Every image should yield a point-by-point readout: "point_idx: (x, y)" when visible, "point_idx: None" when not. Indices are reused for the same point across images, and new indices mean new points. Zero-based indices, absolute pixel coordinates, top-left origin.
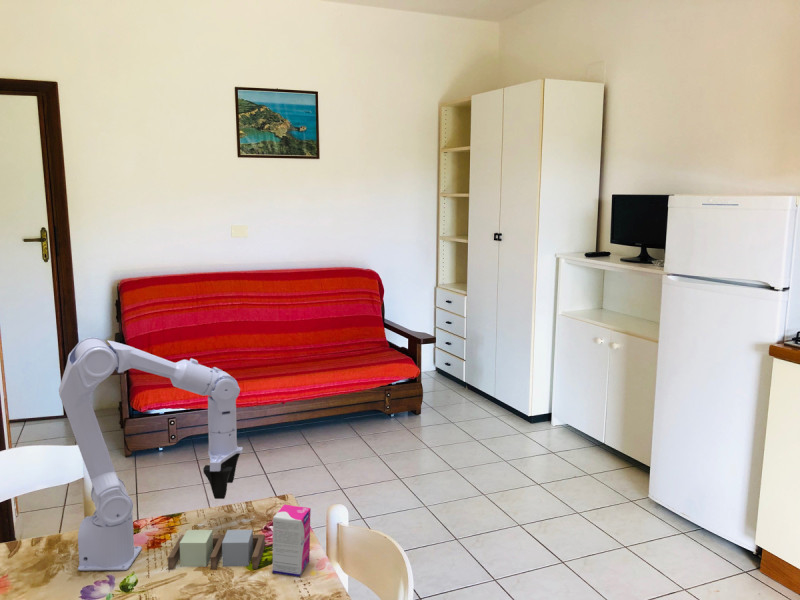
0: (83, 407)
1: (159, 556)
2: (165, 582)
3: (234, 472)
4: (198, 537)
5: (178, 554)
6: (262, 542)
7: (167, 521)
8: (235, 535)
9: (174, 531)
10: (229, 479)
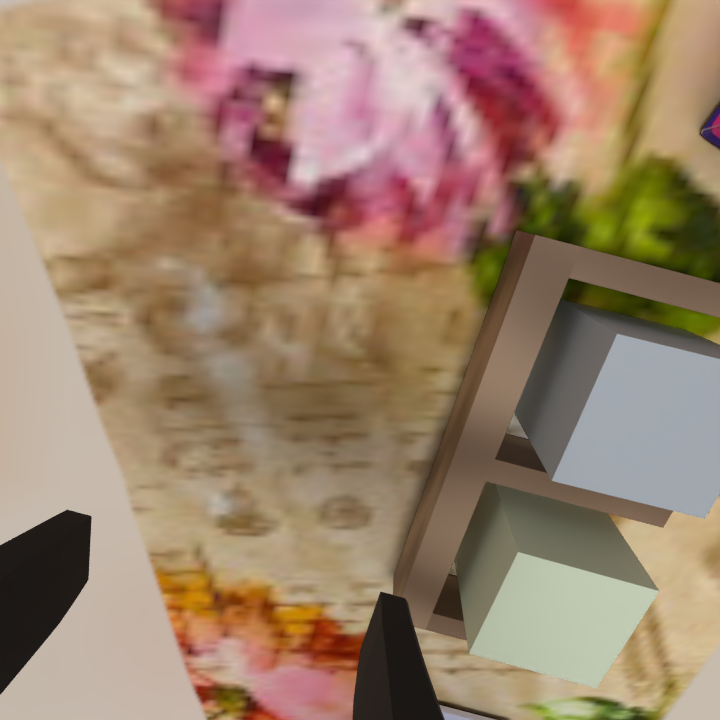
0: None
1: (447, 641)
2: (649, 630)
3: (3, 576)
4: (579, 617)
5: None
6: (616, 256)
7: (174, 611)
8: (650, 443)
9: (262, 593)
10: (66, 559)
